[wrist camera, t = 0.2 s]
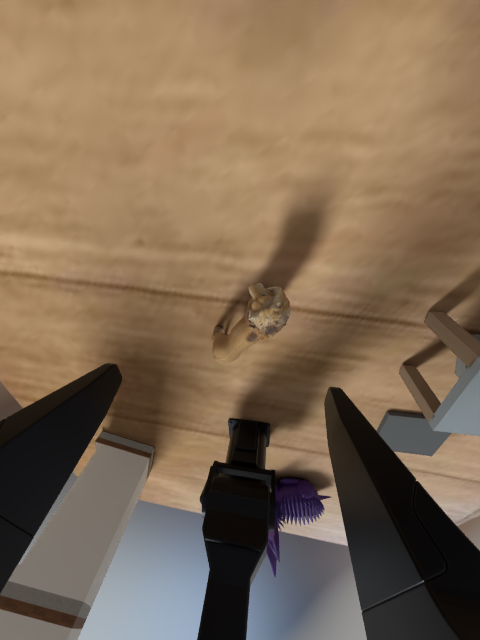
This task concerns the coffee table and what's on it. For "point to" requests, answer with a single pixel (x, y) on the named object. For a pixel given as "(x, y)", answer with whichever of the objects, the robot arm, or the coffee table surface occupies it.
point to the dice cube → (460, 365)
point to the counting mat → (410, 433)
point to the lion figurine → (253, 322)
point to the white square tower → (76, 546)
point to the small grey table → (467, 394)
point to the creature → (292, 510)
